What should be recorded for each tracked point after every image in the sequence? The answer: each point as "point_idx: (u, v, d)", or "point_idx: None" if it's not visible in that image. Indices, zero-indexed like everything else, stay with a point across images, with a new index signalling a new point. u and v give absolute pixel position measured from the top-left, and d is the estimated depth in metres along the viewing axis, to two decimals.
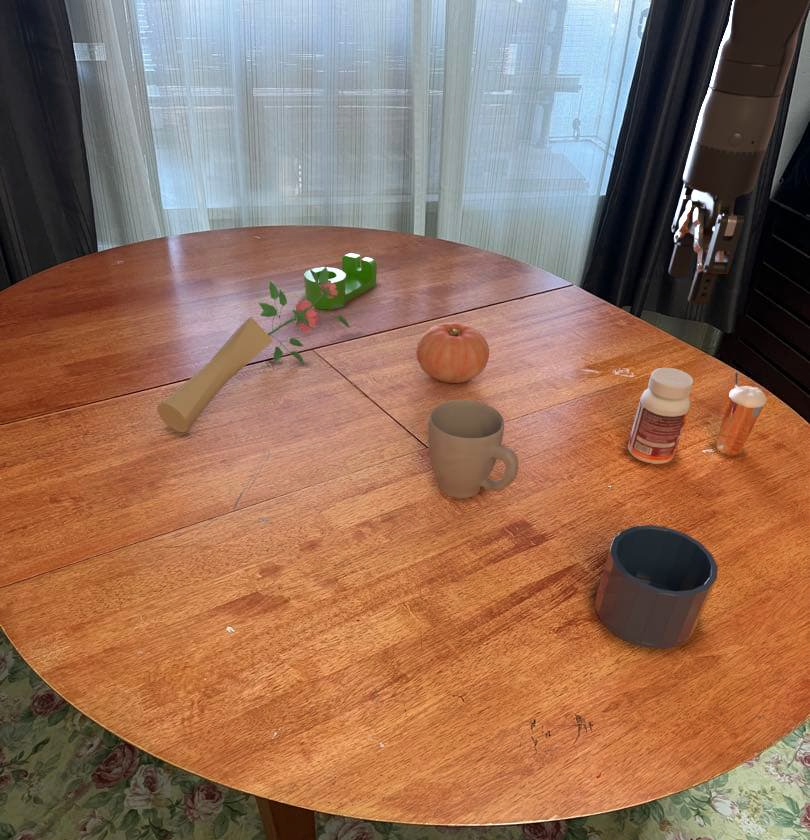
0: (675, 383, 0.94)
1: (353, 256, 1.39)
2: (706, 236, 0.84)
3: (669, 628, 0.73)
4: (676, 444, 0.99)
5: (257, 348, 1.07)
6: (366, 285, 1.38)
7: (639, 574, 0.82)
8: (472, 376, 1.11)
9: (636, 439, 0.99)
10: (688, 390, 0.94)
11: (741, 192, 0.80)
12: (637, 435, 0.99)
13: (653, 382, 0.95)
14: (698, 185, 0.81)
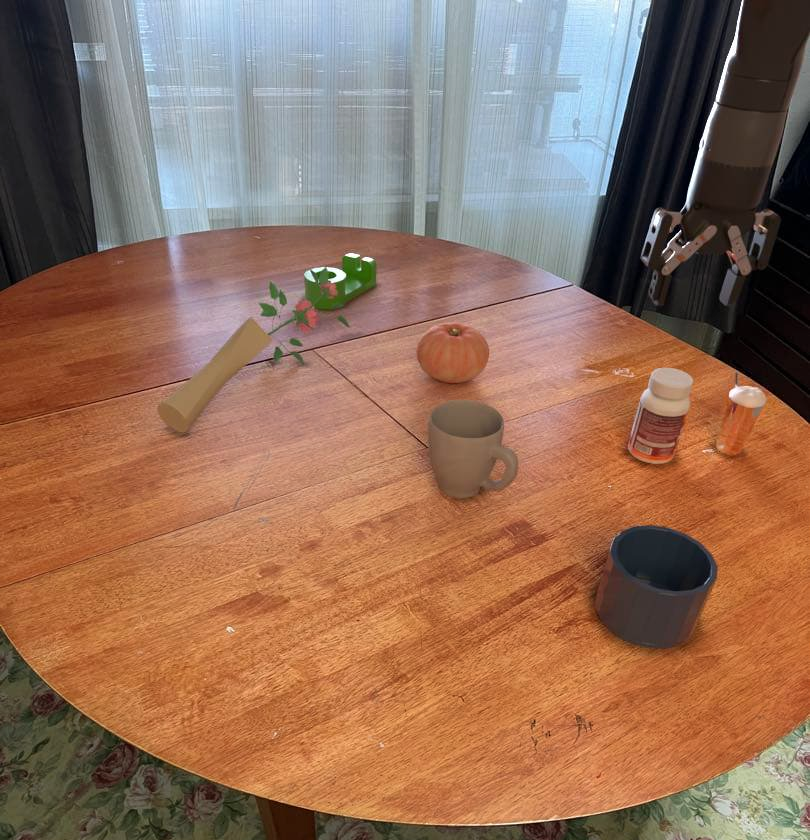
0: (675, 383, 0.94)
1: (353, 256, 1.39)
2: (685, 241, 0.85)
3: (669, 628, 0.73)
4: (676, 444, 0.99)
5: (257, 348, 1.07)
6: (366, 285, 1.38)
7: (639, 574, 0.82)
8: (472, 376, 1.11)
9: (636, 439, 0.99)
10: (688, 390, 0.94)
11: (698, 200, 0.81)
12: (637, 435, 0.99)
13: (653, 382, 0.94)
14: None
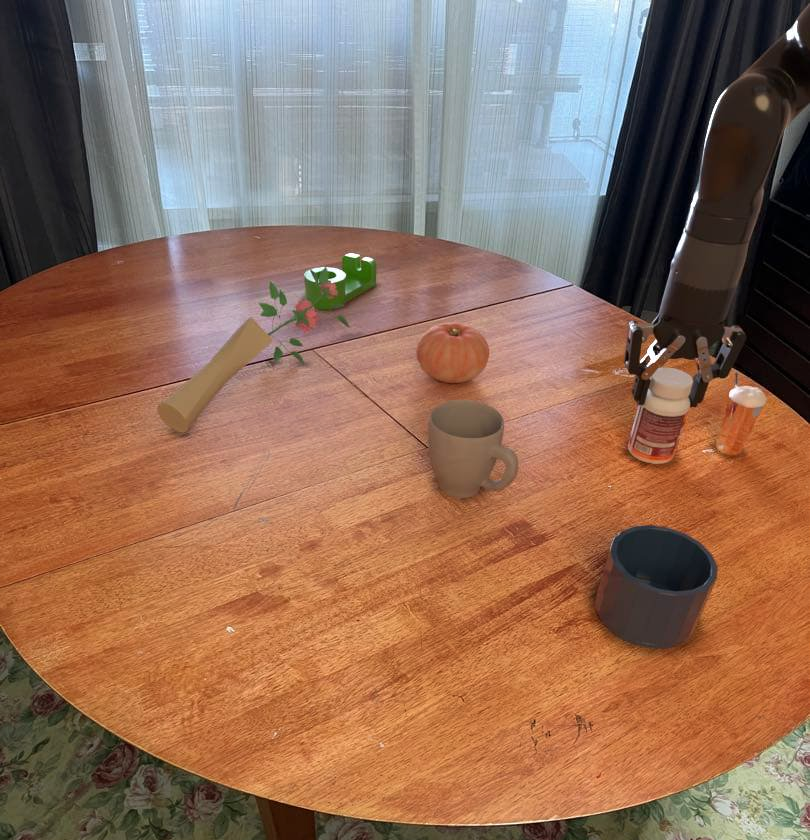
0: (675, 383, 0.94)
1: (353, 256, 1.39)
2: None
3: (669, 628, 0.73)
4: (676, 444, 0.99)
5: (257, 348, 1.07)
6: (366, 285, 1.38)
7: (639, 574, 0.82)
8: (472, 376, 1.11)
9: (636, 439, 0.99)
10: (688, 390, 0.94)
11: (667, 313, 0.88)
12: (637, 435, 0.99)
13: (653, 382, 0.95)
14: None
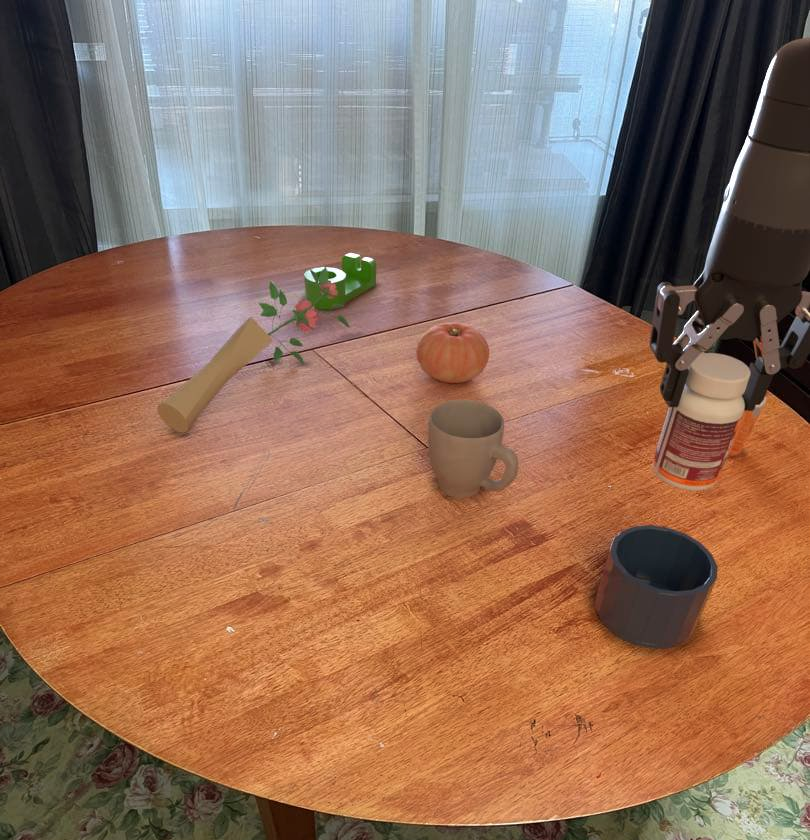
0: (725, 376, 0.64)
1: (353, 256, 1.39)
2: (702, 319, 0.63)
3: (669, 628, 0.73)
4: (722, 463, 0.69)
5: (257, 348, 1.07)
6: (366, 285, 1.38)
7: (639, 574, 0.82)
8: (472, 376, 1.11)
9: (665, 456, 0.70)
10: (743, 385, 0.64)
11: (718, 269, 0.58)
12: (667, 450, 0.69)
13: (693, 374, 0.65)
14: None
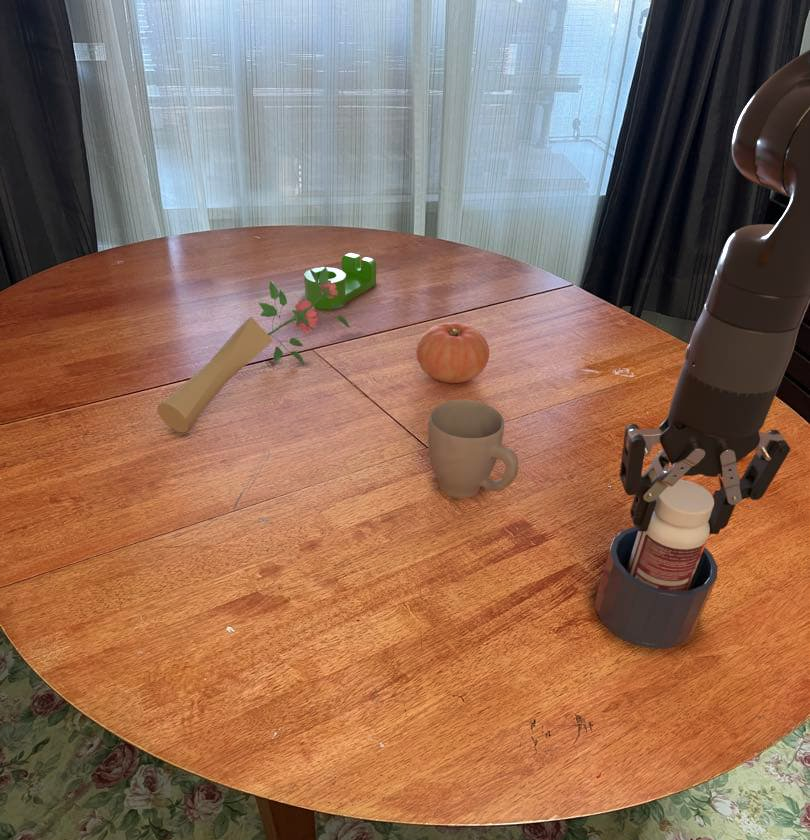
0: (690, 507, 0.68)
1: (353, 256, 1.39)
2: None
3: (669, 628, 0.73)
4: (690, 579, 0.73)
5: (257, 348, 1.07)
6: (366, 285, 1.38)
7: None
8: (472, 376, 1.11)
9: (636, 572, 0.74)
10: (707, 515, 0.68)
11: (680, 419, 0.62)
12: (638, 567, 0.73)
13: (660, 503, 0.69)
14: None
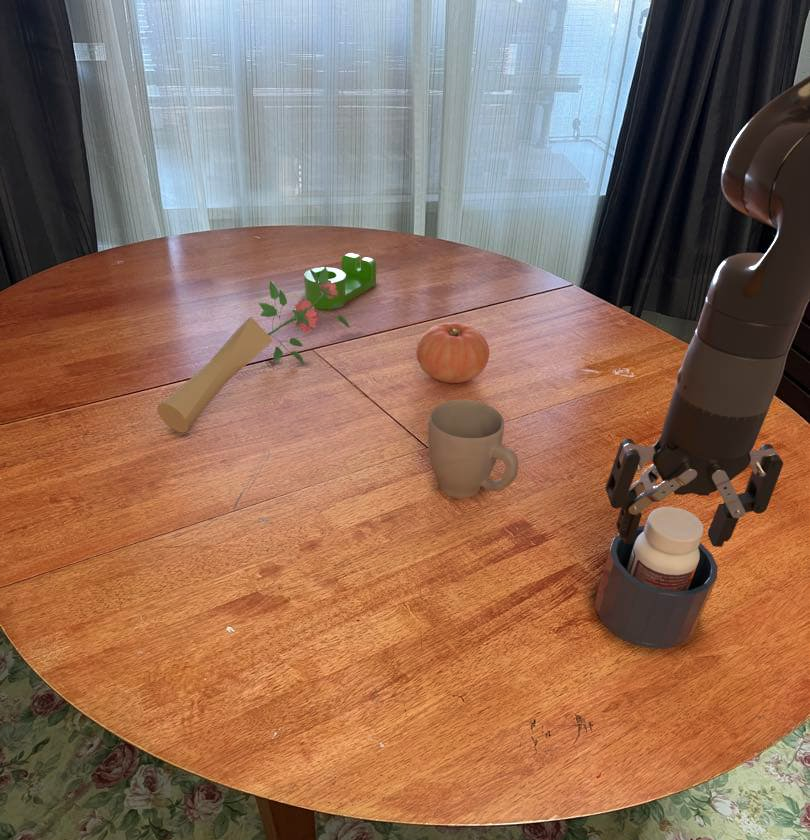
0: (680, 534, 0.70)
1: (353, 256, 1.39)
2: None
3: (669, 628, 0.73)
4: None
5: (257, 348, 1.07)
6: (366, 285, 1.38)
7: None
8: (472, 376, 1.11)
9: None
10: (697, 542, 0.71)
11: (672, 441, 0.64)
12: None
13: (651, 531, 0.71)
14: None
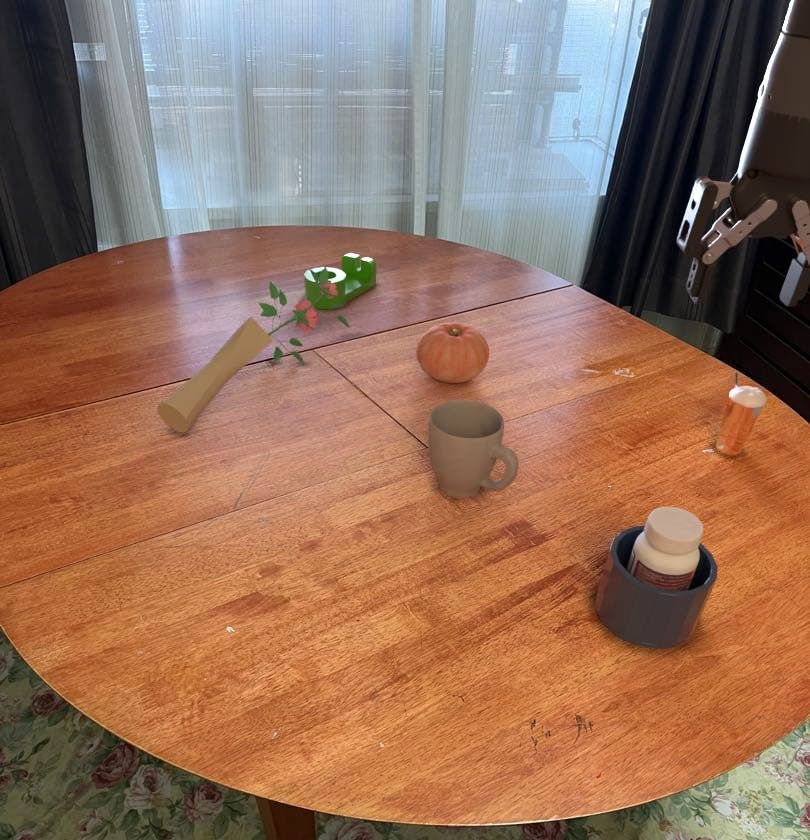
0: (680, 534, 0.70)
1: (353, 256, 1.39)
2: (735, 220, 0.66)
3: (669, 628, 0.73)
4: None
5: (257, 348, 1.07)
6: (366, 285, 1.38)
7: None
8: (472, 376, 1.11)
9: None
10: (697, 542, 0.71)
11: (753, 165, 0.61)
12: None
13: (651, 531, 0.71)
14: None
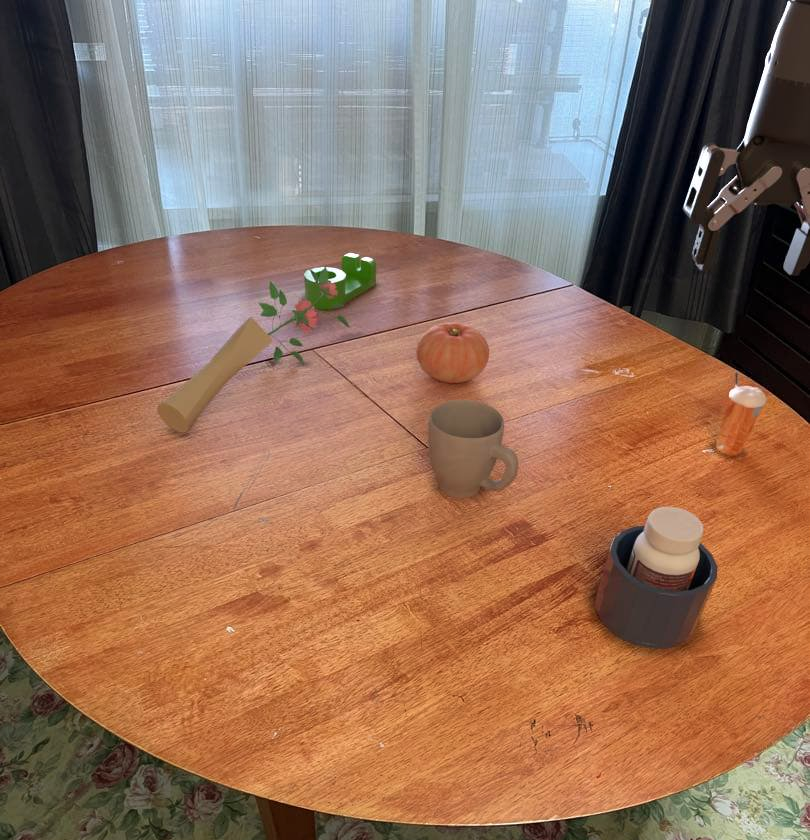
0: (680, 534, 0.70)
1: (353, 256, 1.39)
2: (741, 188, 0.68)
3: (669, 628, 0.73)
4: None
5: (257, 348, 1.07)
6: (366, 285, 1.38)
7: None
8: (472, 376, 1.11)
9: None
10: (697, 542, 0.71)
11: (759, 132, 0.63)
12: None
13: (651, 531, 0.71)
14: None
